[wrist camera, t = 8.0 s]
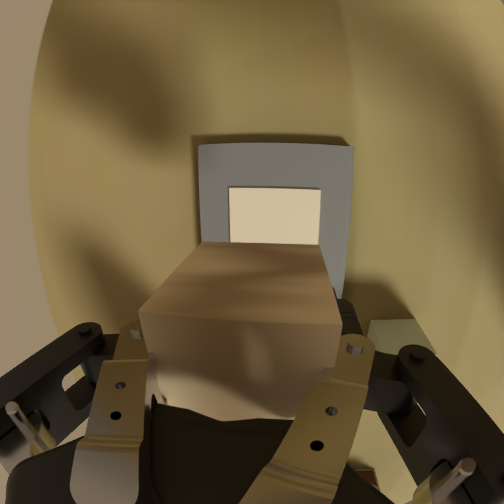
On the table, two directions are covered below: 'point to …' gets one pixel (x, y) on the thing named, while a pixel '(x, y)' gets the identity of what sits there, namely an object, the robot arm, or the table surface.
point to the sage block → (396, 335)
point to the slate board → (279, 197)
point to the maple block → (243, 329)
